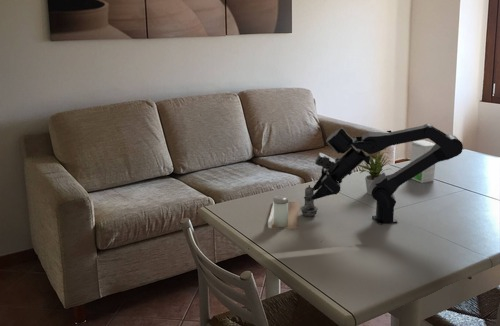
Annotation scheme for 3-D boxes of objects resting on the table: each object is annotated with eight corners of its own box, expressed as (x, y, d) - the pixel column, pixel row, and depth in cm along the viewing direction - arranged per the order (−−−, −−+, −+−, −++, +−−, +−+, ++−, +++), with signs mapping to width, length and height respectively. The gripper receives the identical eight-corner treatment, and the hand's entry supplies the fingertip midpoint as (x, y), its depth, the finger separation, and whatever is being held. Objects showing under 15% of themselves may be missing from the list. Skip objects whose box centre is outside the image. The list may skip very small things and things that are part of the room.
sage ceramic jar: (290, 226, 175) (290, 200, 172) (275, 228, 174) (275, 201, 171) (286, 221, 179) (286, 195, 177) (272, 222, 178) (271, 196, 176)
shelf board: (300, 205, 197) (300, 202, 197) (296, 232, 173) (296, 228, 173) (275, 204, 198) (275, 201, 198) (268, 231, 174) (268, 228, 174)
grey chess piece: (306, 213, 189) (306, 180, 185) (321, 217, 185) (321, 184, 182) (297, 218, 184) (297, 185, 181) (311, 222, 181) (312, 188, 177)
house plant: (362, 184, 219) (364, 144, 214) (396, 189, 212) (399, 148, 207) (349, 194, 207) (351, 153, 202) (385, 200, 200) (388, 157, 196)
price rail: (277, 204, 198) (277, 196, 197) (271, 231, 174) (271, 222, 174) (274, 204, 198) (274, 196, 198) (267, 231, 175) (267, 222, 174)
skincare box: (408, 178, 225) (410, 141, 221) (420, 175, 228) (423, 139, 224) (422, 183, 218) (425, 145, 214) (435, 181, 221) (438, 143, 216)
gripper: (330, 139, 186) (297, 169, 190) (330, 153, 168) (294, 186, 172) (352, 161, 187) (319, 191, 191) (355, 178, 169) (319, 210, 174)
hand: (312, 194), depth 182 cm, fingers open, 9 cm apart
